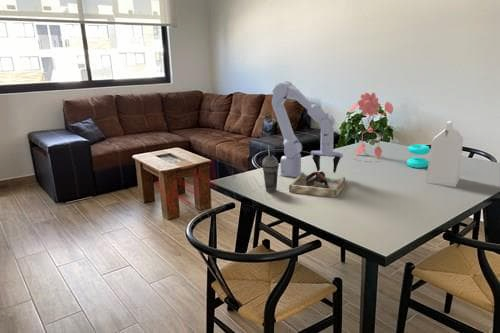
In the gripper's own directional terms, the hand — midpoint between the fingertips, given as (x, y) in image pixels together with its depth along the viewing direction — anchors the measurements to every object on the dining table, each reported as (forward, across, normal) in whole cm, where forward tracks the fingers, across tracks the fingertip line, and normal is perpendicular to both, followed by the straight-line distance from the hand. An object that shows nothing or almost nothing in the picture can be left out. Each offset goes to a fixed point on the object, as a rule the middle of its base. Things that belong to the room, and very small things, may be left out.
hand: (326, 171), depth 177 cm
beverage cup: (+3, +18, +25) cm, 31 cm away
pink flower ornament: (+3, -12, -39) cm, 40 cm away
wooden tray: (+3, 0, +15) cm, 15 cm away
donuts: (+3, -38, -31) cm, 49 cm away
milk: (+3, -49, -11) cm, 50 cm away
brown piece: (+3, 0, +14) cm, 15 cm away
